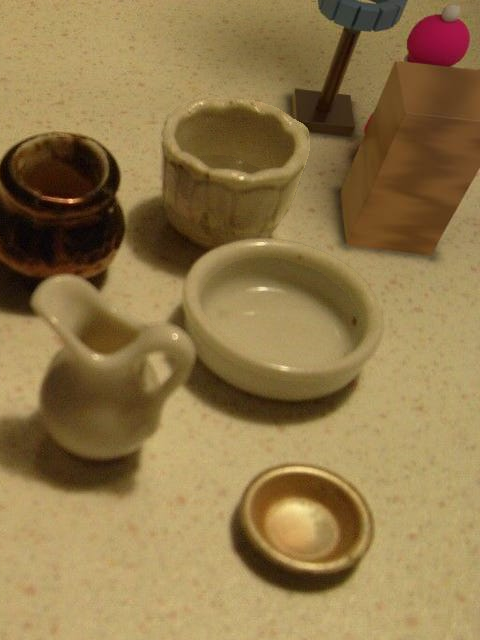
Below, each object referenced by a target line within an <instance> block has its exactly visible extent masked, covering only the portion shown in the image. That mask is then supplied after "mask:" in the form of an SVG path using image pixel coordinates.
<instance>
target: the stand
mask: <svg viewBox="0 0 480 640" xmlns="http://www.w3.org/2000/svg"><path fill="white" fill-rule="evenodd" d="M361 33H362V31H358V30H353V26H352V27H351V28H350V29H348V28H345V27H343V28H342V31H341V34H340V37H339V38H338V39H339V40H338V42H337V45H336V48H335V50H334V54H333V57H332V59H331V62H330V65H329V68H328V71H327V74H326V77H325V79H324V82H323V85H322V88H321V91H319V90H311V89H310V90H309V89H303V88H302V89H301V88H294V90H293V93H292V97H291V109H292V119H293V118H294V119H296V120H297V121H299V122H301V123H303V124H304V125H305V126H306V127H307V128H308V130H309V132H308V133H316V134H323V135H324V134H325V135H332V136H341V137H348V138H349V137H350V138H351V137H352V135H353V133H354V130H355V129H356V126H355V117H354V110H353V103H352V95H351V94H345V93H339V92H340V89H341V87H342V84H343V82H344V79H345V76H346V74H347V70H348V67H349V65H350V62H351V60H352V57H353V54H354V52H355V49H356V47H357V44H358V42H359V38H360V35H361Z"/></svg>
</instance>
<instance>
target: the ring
mask: <svg viewBox="0 0 480 640" xmlns="http://www.w3.org/2000/svg"><path fill="white" fill-rule="evenodd" d="M369 1H370V2H364V1H361V0H317V5H318V11H320V12H319V13H320V14H322V15H323V17H325V18H326V19H327V20H328V21H330V22H332V23H333V24H336V25H338V26H340V27H343V28H344V27H345V28H348V29H350V28H351V27H352V26H353V30H358V31H361V32H368V33H372V31H373V32H374V33H377V32H381V31H387V30H390V29H393V28H394V27H395V26H396V25H397V24H398V23H399V22H400V20H401V18H402V16H403V13H404V11H405V8H406V6H407V4H408V1H409V0H369Z"/></svg>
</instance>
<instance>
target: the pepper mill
mask: <svg viewBox="0 0 480 640" xmlns="http://www.w3.org/2000/svg"><path fill="white" fill-rule="evenodd" d="M461 14H462V11H461V7H460V6H459V5H458V4H455V3H449V4H447V5H446V6H444V7H443V9H442V10H441V13H437V14H431V15H428V16H426V17H424V18H422V19H421V20H419V21H418V22H417V23H416V24H415V25H414V26H413V27H412V29H411V30H410V32H409V34H408V37H407V40H406V50H407V54H406V55H405V56H404V58H403V62H411V63H420V64H429V65H438V66H447V67H454V66H455V65H457V64H458V63H459V62H460V61H461V60H462V59H463V58H464V57H465V56H466V54H467V52H468V49H469V46H470V43H471V36H470V30H469V27H468V26H467V25H466V24H465V22H464V21H462V19H460V16H461ZM373 113H374V111H373V112H372V113H371V115H370V116H369V118H368V120H367V122H366V124H365V125H364V130H363V136H364V135H365V132H366V130H367V127H368V125H369V123H370V120H371V118H372V115H373Z"/></svg>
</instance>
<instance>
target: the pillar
mask: <svg viewBox="0 0 480 640" xmlns="http://www.w3.org/2000/svg"><path fill="white" fill-rule="evenodd" d="M373 112H374V113H373ZM373 112H372V113H373V115H372V114H371V115H372V118H371V120H370V123H369V125H368V127H367V130H366V132H365V135H364V134H363V137H362V140H361V141H360V144H359V147H358V149H357V152H356V154H355V156H354V159H353V161H352V164H351V166H350V169H349V171H348V173H347V176H346V178H345V181H344V183H343V185H342V188H341V190H340V200H341V209H342V218H343V219H342V221H343V228H344V229H343V230H344V238H345V245H348V246H354V247H355V246H356V247H362V248H370V249H376V250H377V249H378V250H386V251H392V252H401V253H407V254H414V255H415V254H416V255H422V256H423V255H424V256H432V254H433V253H434V250H435V249H436V247H437V245H438V244H439V242H440V240H441V238H442V236H443V234H444V233H445V231H446V230H447V227H448V226H449V224H450V223H451V220H452V219H453V217H454V215H455V213H456V211H457V210H458V208H459V206H460V204H461V202H462V200H463V199H464V197H465V195H466V194H467V192H468V190H469V188H470V186H471V185H472V184H473V181H474V180H475V178H476V176H477V174H478V172H479V171H480V69H472V68H465V67H454V66H452V67H447V66H438V65H429V64H420V63H411V62H404V61H401V60H395V61H394V62H393V64H392V67H391V70H390V72H389V74H388V77H387V79H386V82H385V84H384V87H383V90H382V91H381V94H380V96H379V99H378V101H377V103H376V105H375V108H374V111H373Z"/></svg>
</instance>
